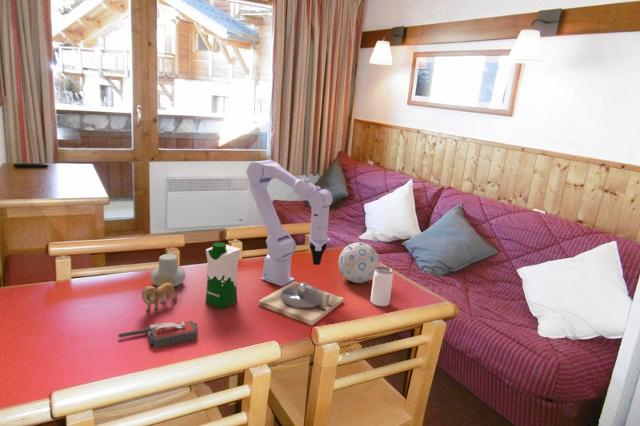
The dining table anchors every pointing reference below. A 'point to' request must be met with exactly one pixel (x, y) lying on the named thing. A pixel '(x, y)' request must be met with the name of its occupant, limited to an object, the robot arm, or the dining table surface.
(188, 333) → the walkie-talkie
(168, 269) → the air freshener
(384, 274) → the can
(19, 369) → the dining table surface
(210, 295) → the milk carton
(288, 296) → the dial
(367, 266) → the puzzle ball
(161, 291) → the lion figurine
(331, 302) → the stand plate
